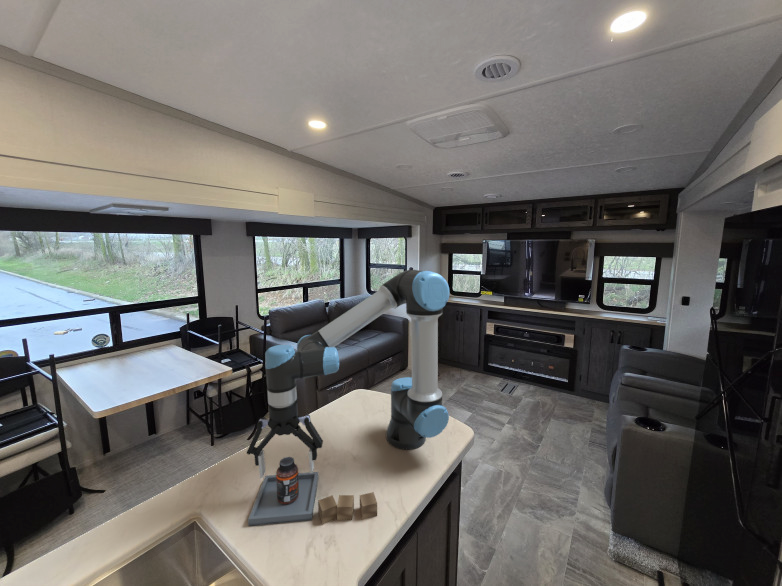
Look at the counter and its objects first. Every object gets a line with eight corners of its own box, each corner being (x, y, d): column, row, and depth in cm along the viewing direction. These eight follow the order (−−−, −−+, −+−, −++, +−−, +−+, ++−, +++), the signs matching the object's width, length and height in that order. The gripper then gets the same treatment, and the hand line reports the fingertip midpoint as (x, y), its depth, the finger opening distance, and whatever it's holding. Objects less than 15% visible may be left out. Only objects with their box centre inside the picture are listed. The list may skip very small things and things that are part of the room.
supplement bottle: (292, 507, 86) (290, 469, 84) (272, 503, 87) (271, 466, 85) (302, 491, 92) (301, 455, 90) (284, 488, 93) (282, 453, 91)
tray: (318, 477, 98) (318, 471, 98) (311, 520, 82) (311, 513, 82) (265, 481, 96) (265, 475, 96) (248, 526, 80) (248, 519, 80)
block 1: (332, 508, 86) (332, 495, 86) (337, 518, 83) (337, 505, 82) (318, 513, 85) (318, 500, 84) (322, 524, 81) (322, 511, 81)
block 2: (353, 508, 86) (353, 495, 86) (352, 520, 82) (352, 506, 82) (339, 508, 86) (339, 495, 86) (337, 520, 82) (336, 506, 82)
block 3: (373, 505, 88) (373, 492, 87) (377, 516, 84) (377, 503, 83) (359, 508, 86) (359, 495, 86) (362, 520, 83) (362, 506, 82)
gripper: (329, 392, 91) (332, 459, 93) (240, 398, 88) (246, 467, 91) (327, 405, 83) (331, 477, 86) (229, 412, 80) (236, 486, 83)
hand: (287, 472), depth 88 cm, fingers open, 13 cm apart
